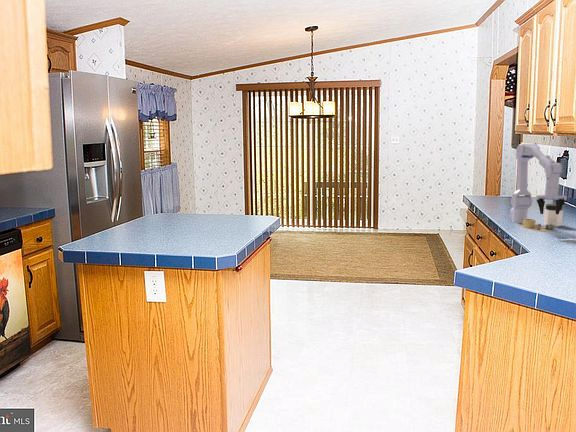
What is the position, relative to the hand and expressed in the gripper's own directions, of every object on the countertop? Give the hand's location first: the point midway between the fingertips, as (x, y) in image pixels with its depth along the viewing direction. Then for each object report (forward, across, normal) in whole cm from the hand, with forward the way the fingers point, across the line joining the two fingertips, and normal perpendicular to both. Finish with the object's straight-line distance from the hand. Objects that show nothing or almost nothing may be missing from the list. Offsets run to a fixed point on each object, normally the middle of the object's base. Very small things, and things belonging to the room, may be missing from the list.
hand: (549, 213), depth 272 cm
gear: (+9, +3, +4) cm, 10 cm away
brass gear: (+9, -6, +9) cm, 14 cm away
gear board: (+10, -2, +7) cm, 12 cm away
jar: (+10, +10, +18) cm, 23 cm away
